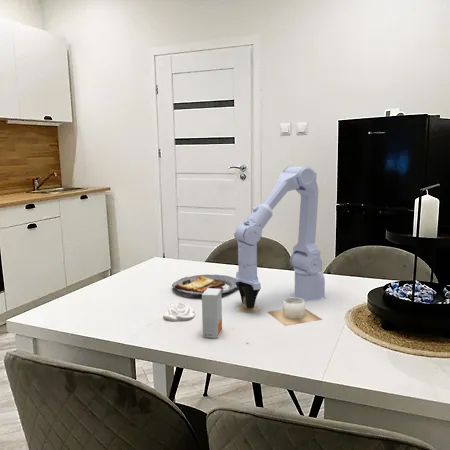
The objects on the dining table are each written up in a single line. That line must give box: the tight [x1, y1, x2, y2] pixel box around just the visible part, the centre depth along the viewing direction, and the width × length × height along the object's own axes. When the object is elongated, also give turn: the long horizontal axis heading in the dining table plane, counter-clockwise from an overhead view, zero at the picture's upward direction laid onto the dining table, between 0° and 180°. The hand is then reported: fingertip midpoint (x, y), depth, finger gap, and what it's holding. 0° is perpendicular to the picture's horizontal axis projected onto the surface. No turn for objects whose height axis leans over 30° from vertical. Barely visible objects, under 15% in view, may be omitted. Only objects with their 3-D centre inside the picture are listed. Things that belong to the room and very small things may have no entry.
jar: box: [282, 296, 306, 319], centre depth 134 cm, size 6×6×4 cm
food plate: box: [171, 274, 240, 296], centre depth 164 cm, size 25×23×4 cm
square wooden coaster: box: [267, 308, 323, 327], centre depth 134 cm, size 12×12×1 cm
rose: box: [162, 301, 196, 322], centre depth 137 cm, size 10×4×10 cm
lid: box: [236, 296, 260, 313], centre depth 141 cm, size 7×7×4 cm
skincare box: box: [201, 288, 223, 339], centre depth 123 cm, size 6×4×12 cm
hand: (248, 305), depth 141 cm, fingers closed on lid, 3 cm apart
